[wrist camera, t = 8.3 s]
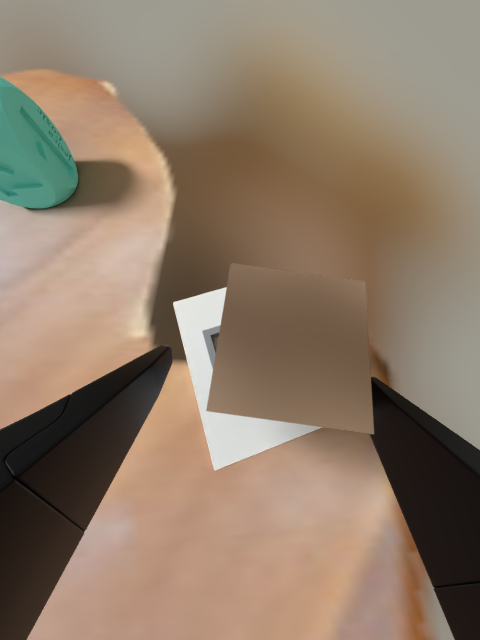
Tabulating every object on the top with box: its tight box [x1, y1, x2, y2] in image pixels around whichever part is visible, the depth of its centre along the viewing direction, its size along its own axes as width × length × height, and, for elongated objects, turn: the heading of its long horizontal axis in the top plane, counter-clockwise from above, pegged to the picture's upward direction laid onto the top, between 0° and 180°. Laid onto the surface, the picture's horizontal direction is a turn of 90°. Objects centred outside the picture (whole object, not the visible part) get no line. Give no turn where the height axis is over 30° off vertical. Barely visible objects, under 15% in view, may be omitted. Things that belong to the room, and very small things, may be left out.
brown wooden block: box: [206, 263, 374, 434], centre depth 11 cm, size 4×4×13 cm
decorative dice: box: [0, 77, 78, 208], centre depth 18 cm, size 8×8×8 cm
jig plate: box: [173, 287, 322, 471], centre depth 16 cm, size 16×12×2 cm
